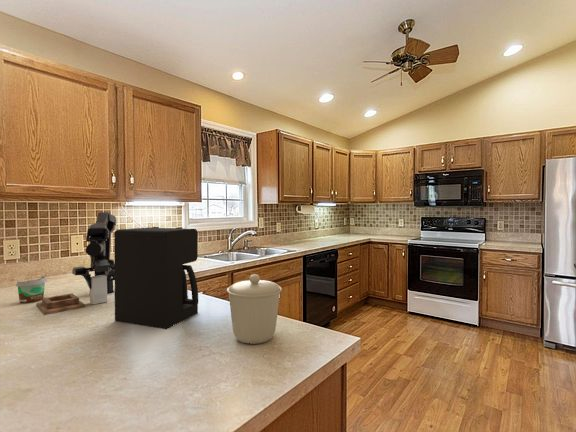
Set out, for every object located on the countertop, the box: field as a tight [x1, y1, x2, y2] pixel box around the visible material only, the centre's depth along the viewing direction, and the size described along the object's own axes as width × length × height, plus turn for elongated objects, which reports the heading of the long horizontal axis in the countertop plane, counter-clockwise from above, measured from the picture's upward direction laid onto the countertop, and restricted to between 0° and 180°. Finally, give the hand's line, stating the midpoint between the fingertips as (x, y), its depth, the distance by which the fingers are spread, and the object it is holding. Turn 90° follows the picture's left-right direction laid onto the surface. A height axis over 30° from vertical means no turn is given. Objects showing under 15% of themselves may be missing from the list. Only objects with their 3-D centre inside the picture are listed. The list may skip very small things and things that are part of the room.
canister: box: [226, 273, 283, 345], centre depth 103 cm, size 18×18×21 cm
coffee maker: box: [113, 226, 199, 330], centre depth 122 cm, size 28×20×35 cm
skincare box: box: [89, 275, 108, 305], centre depth 142 cm, size 6×4×12 cm
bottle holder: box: [35, 292, 86, 316], centre depth 136 cm, size 14×18×4 cm
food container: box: [15, 276, 48, 304], centre depth 144 cm, size 12×6×10 cm, turn 168°
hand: (98, 287), depth 142 cm, fingers closed on skincare box, 6 cm apart
